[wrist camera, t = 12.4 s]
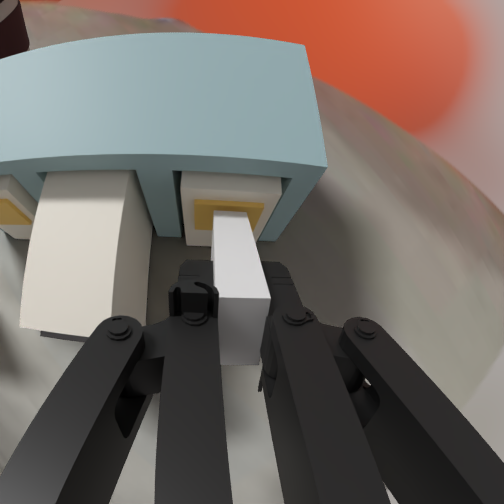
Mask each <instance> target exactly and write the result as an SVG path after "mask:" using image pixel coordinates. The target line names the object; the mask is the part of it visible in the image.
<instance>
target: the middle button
mask: <svg viewBox="0 0 504 504" xmlns="http://www.w3.org/2000/svg"><path fill="white" fill-rule="evenodd" d="M152 229H153V221H152V218H151V215H150V212H149V209H148V206H147V203H146V200H145V197H144V194H143V191H142V188H141V185H140V182H139V179H138V175H137V172H136V170H75V171H51V172H47V175H46V178H45V181H44V185H43V188H42V192H41V196H40V199H39V203H38V207H37V211H36V216H35V220H34V224H33V229H32V234H31V239H30V244H29V249H28V255H27V261H26V268H25V275H24V282H23V291H22V300H21V312H20V327H23V328H29V329H35V330H41V335H40V336H44V337H50V338H56V339H63V340H70V341H78V342H86V341H87V339H88V338H89V337H90V335H91V334H92V333H93V331H94V330H95V329H96V327H97V326H98V325H99V324H100V323H101V322H102V321H103V320H105V319H107V318H109V317H112V316H118V315H123V316H130V317H132V318H135V319H137V320H138V321H139V322H140V323H141V325H142V326H146V307H147V288H148V273H149V261H150V249H151V239H152Z"/></svg>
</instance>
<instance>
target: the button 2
mask: <svg viewBox="0 0 504 504" xmlns="http://www.w3.org/2000/svg"><path fill="white" fill-rule="evenodd" d="M180 189H181V200H182V209H183V219H184V228H185V236H186V244H187V245H189V246H212V229H213V213H214V210H217V211H236V212H247V216H248V219H249V223H250V226H251V230H252V233H253V237H254V240H255V243H256V242H257V240H258V238H259V236H260V234H261V232H262V230H263V228H264V227H265V225H266V223H267V221H268V219H269V217H270V215H271V214H272V212H273V210H274V208H275V206H276V204H277V202H278V200H279V199H280V197H281V195H282V188H281V177H275V176H264V175H251V174H237V173H221V172H203V171H182V178H181V187H180Z"/></svg>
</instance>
